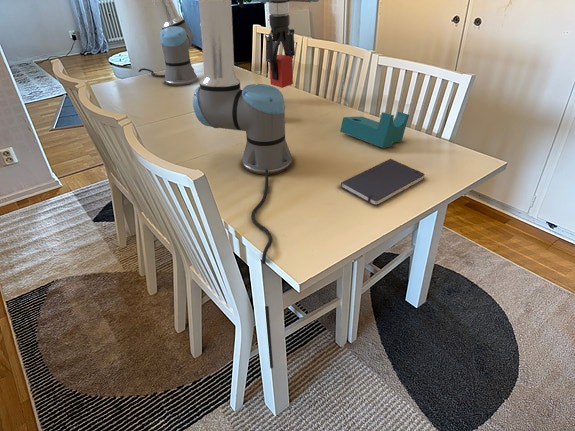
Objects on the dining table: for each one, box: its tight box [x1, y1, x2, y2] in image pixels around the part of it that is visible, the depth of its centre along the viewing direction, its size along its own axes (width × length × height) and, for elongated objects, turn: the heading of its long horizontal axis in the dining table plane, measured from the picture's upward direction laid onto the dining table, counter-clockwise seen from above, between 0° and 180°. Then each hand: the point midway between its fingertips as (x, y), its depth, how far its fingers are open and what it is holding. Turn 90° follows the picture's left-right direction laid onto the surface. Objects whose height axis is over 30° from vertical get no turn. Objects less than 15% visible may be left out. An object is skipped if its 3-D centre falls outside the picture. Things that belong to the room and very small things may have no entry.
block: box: [268, 53, 294, 89], centre depth 162 cm, size 7×6×11 cm
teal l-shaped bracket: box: [339, 111, 410, 149], centre depth 136 cm, size 18×11×10 cm, turn 43°
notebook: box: [340, 158, 425, 206], centre depth 114 cm, size 13×2×21 cm
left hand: (252, 5), depth 190 cm, fingers open, 13 cm apart
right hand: (281, 77), depth 163 cm, fingers closed on block, 6 cm apart
